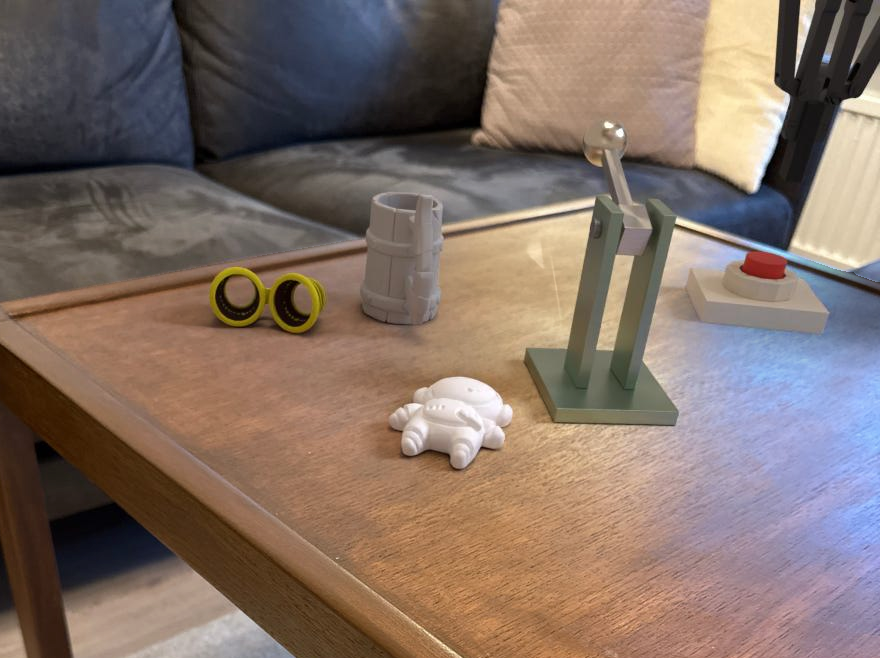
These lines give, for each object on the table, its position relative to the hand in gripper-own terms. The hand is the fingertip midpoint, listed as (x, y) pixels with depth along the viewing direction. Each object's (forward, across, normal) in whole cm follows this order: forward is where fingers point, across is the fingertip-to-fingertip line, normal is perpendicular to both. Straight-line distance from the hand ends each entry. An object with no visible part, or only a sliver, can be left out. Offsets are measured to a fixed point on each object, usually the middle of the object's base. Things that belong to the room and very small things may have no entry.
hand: (789, 178), depth 93 cm
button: (+9, 0, 0) cm, 9 cm away
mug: (+13, -35, -12) cm, 39 cm away
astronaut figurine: (+13, -30, -34) cm, 47 cm away
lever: (0, -19, -18) cm, 26 cm away
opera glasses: (+13, -47, -16) cm, 51 cm away
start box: (+13, 0, 0) cm, 13 cm away
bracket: (+13, -18, -24) cm, 33 cm away
